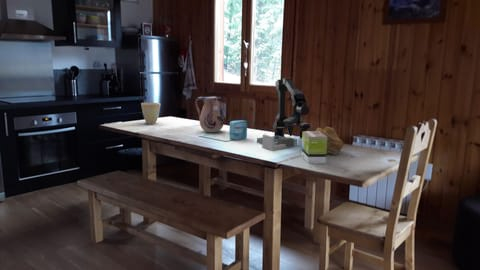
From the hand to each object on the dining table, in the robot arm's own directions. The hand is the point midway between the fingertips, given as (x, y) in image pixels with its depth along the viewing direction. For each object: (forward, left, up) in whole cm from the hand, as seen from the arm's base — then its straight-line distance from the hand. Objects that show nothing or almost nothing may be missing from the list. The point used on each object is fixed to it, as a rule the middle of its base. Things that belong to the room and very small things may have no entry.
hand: (295, 137), depth 241 cm
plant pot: (+49, -114, -5) cm, 124 cm away
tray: (+8, -13, -5) cm, 16 cm away
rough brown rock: (-3, +25, -5) cm, 26 cm away
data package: (+21, -33, -5) cm, 40 cm away
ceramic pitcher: (+25, -64, -5) cm, 69 cm away
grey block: (+16, 0, -5) cm, 17 cm away
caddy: (+6, 0, -5) cm, 8 cm away
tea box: (+17, +32, -5) cm, 36 cm away
